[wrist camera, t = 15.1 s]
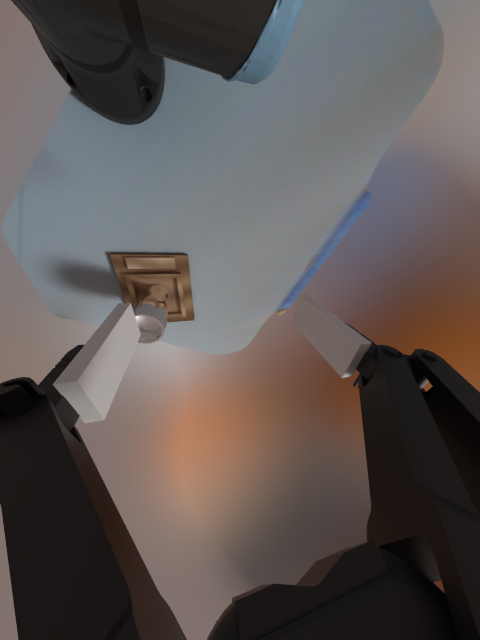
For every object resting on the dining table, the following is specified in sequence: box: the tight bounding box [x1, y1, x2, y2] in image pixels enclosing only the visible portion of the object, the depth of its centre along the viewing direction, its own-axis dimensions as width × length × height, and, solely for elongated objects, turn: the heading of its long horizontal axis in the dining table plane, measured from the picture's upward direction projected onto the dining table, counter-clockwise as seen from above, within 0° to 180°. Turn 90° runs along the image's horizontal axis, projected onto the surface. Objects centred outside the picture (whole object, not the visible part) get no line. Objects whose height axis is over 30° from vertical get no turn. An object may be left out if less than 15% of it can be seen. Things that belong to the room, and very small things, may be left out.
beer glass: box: [133, 285, 171, 343], centre depth 37 cm, size 7×7×15 cm
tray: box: [110, 254, 194, 322], centre depth 43 cm, size 18×16×2 cm
